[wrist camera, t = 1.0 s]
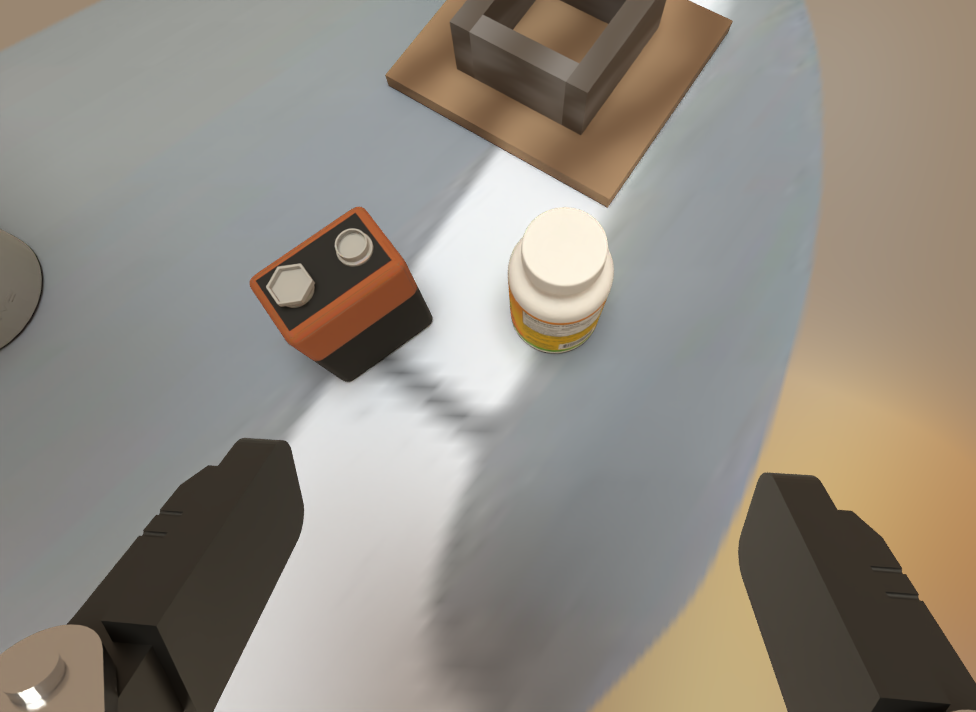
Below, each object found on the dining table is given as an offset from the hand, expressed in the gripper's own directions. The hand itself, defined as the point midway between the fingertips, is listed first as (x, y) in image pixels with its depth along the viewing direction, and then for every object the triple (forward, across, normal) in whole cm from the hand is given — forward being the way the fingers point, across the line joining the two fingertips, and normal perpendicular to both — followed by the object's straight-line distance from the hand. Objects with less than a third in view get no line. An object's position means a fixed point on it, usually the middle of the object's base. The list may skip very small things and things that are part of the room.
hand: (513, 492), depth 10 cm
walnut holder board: (+38, -1, -5) cm, 38 cm away
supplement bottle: (+25, -1, +9) cm, 26 cm away
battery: (+24, +10, +10) cm, 28 cm away
